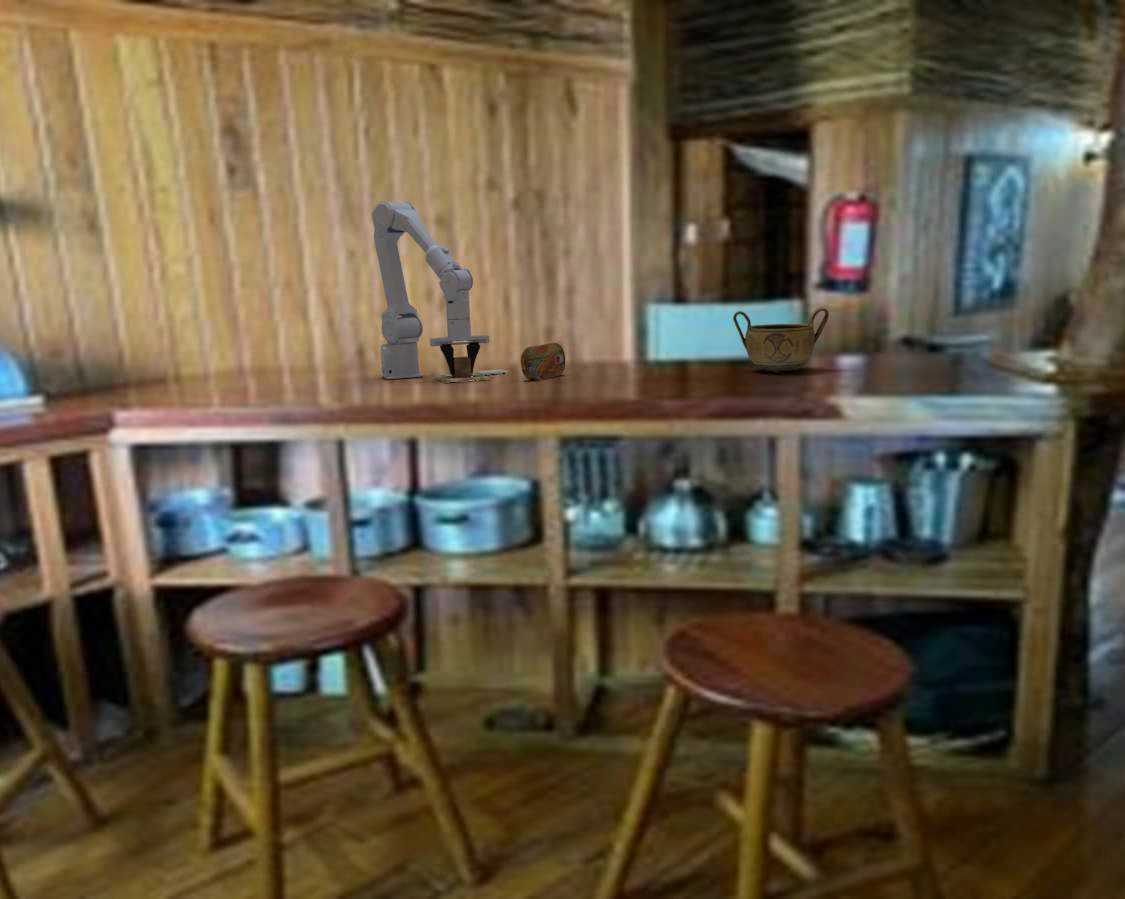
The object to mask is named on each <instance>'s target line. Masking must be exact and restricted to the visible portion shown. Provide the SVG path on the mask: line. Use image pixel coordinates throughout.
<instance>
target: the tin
mask: <svg viewBox="0 0 1125 899" xmlns="http://www.w3.org/2000/svg"><path fill="white" fill-rule="evenodd" d="M520 367H521V368H520V369H521V371H522V374H523V375H524V377H525V378H526V379H528V380H530V379H532V380H531V381H541V380H540V379H543V380H546V379H545V378H547V379H551V378H550V377H552V378H556V377H555V376H557V377H560V376H561V375H562V373H563V372H564V371H565V367H566V354H565V350H564V349H563V346H562V345H560V344H559V343H556V342H550V343H545V344H539V345H533V346H527V347H526V348H524V350H523V351H522V353H521V356H520Z"/></svg>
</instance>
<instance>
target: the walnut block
mask: <svg viewBox="0 0 1125 899" xmlns="http://www.w3.org/2000/svg"><path fill="white" fill-rule="evenodd" d="M454 370H455V375H452V378H453V379H455V378H468V377H471V359H470V358H469V357H468V356H458V357H457V356H456V357H454Z"/></svg>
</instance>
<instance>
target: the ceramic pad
mask: <svg viewBox="0 0 1125 899" xmlns="http://www.w3.org/2000/svg"><path fill="white" fill-rule="evenodd" d="M476 372H477V373H480V374H482V375H488V376H490V375H489V374H501V373H509V374H510V372H509V371H508V370H505V369H502V368H499V369H485V370H475V373H476ZM501 375H502V374H501Z"/></svg>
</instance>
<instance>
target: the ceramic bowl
mask: <svg viewBox="0 0 1125 899" xmlns="http://www.w3.org/2000/svg"><path fill="white" fill-rule="evenodd" d="M820 312H824V315H823V319H822V321H821V322H820V324H819V326H818V327H817V330H816V331H815V329H814V321H815V318H816V317H817V315H818V314H819V313H820ZM738 315H742V316H743V317H744V319H745V320H746V322H747V328H746V332H745V335H744V333H743V332H742V329H741V327H740V324H739V322H738V319H737V317H738ZM829 316H830V313H829V310H828V309H827V308H826V307H817V308H816V309H815V310H814V311H812V313H811V314H810V317H809V319H808V324H807V323H771V324H769V323H768V324H767V323H766V324H755V325H754V324H753V325H752V324H751V320H750V317H749V316H748V314H747V313H746V312H744V311H742V310H739V311H736V312H735V313H734V314H733V318H732V320H733V323H734V324H735V325H734V326H735V327H736V329H737V332H738V334H739V336H740V339H741V342H742V344H743V346H744V348H745V351H746V353H747V355H748V358H749V360H750V361H751V362H752V363H753V364H754V365H755V366H756V367H758V368H759V369H761V370H764V371H766V372H768V371H773V372H772V373H780V372H779V371H791V370H794V371H796V370H798V369H800V368H801V367H803V366H804V365H805V364H806V363H807V362H809V360H810V359H811V357H812V354H813V352H814V348H815V345H816V343H817V341H818V339H819V338H820V335H821V334H822V333H823V330H824V327H825V326H826V324H827V322H828V320H829ZM791 372H792V371H791Z"/></svg>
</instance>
